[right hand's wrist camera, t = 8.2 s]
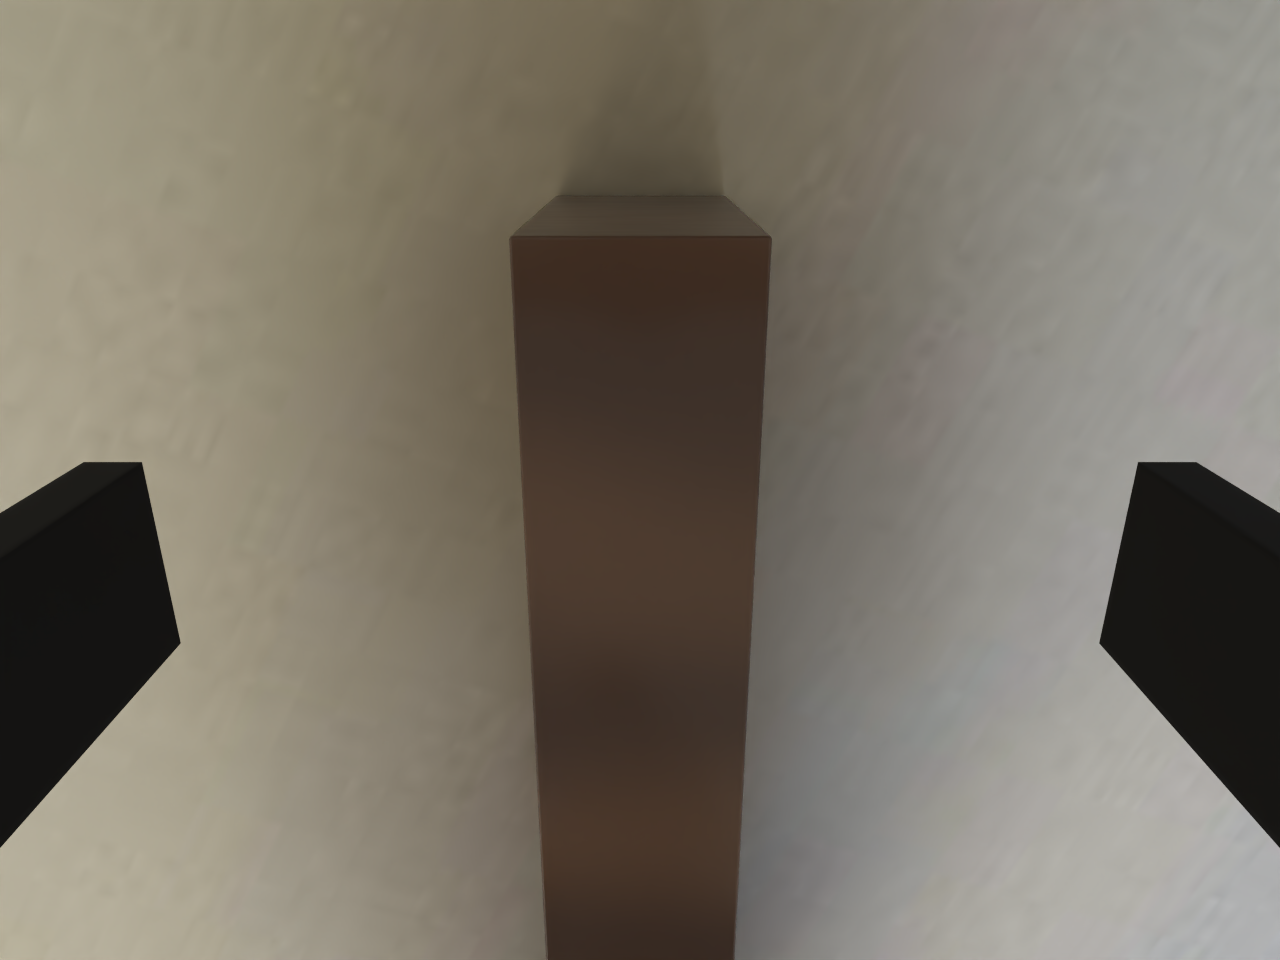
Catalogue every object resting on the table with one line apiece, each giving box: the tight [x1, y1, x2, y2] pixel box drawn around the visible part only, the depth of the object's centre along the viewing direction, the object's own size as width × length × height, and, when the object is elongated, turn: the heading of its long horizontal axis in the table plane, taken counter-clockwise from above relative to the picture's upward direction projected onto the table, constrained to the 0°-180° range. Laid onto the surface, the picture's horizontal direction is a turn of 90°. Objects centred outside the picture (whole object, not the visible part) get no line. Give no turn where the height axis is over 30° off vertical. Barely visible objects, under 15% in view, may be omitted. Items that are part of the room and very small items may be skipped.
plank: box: [509, 196, 772, 960], centre depth 28 cm, size 34×5×10 cm, turn 0°
